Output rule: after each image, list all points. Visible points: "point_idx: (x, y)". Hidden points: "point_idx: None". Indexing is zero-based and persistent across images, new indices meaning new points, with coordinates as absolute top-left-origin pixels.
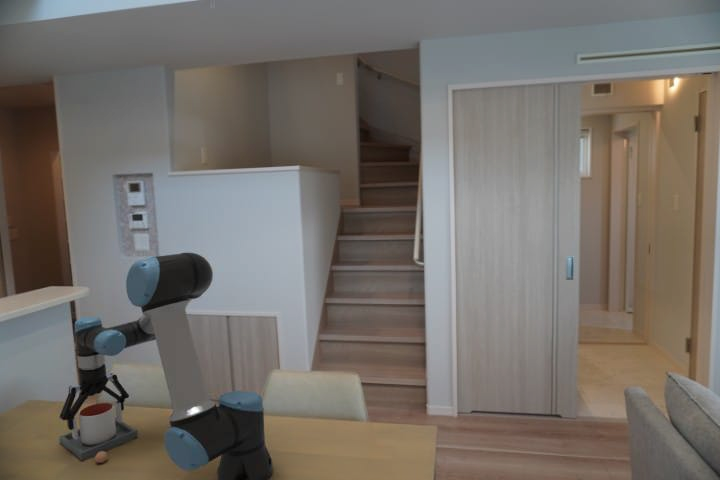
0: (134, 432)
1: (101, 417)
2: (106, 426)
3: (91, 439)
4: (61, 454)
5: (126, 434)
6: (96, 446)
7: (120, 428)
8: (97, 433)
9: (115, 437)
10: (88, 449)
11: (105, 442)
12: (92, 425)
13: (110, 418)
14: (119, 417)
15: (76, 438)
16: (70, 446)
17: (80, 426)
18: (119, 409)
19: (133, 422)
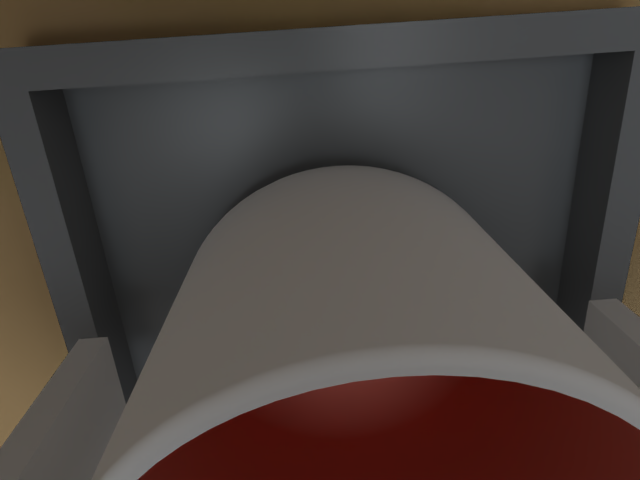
0: (15, 49)
1: (421, 307)
2: (318, 219)
3: (474, 220)
4: (633, 292)
5: (115, 52)
6: (491, 39)
7: (129, 346)
8: (436, 206)
9: (219, 206)
10: (580, 42)
11: (379, 53)
12: (534, 287)
13: (227, 296)
14: (82, 381)
15: (613, 303)
16: (615, 288)
17: (585, 428)
18: (8, 477)
19: (3, 390)
